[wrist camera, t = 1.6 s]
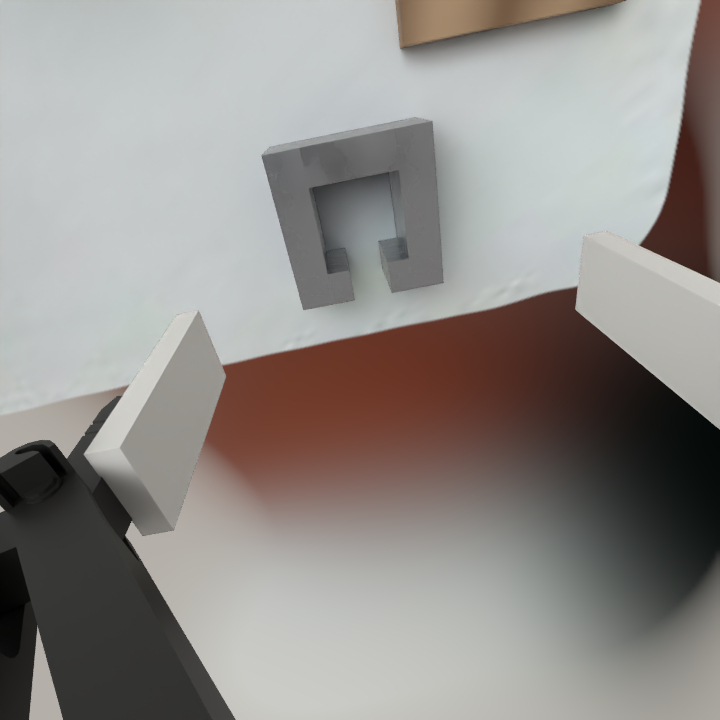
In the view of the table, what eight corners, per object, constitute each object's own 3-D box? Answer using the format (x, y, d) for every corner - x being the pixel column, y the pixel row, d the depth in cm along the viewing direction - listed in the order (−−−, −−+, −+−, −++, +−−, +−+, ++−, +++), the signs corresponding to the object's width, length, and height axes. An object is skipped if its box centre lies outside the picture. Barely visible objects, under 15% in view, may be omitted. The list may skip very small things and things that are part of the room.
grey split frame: (427, 259, 30) (443, 282, 27) (305, 283, 31) (303, 310, 27) (415, 117, 26) (432, 121, 22) (269, 147, 26) (261, 155, 22)
